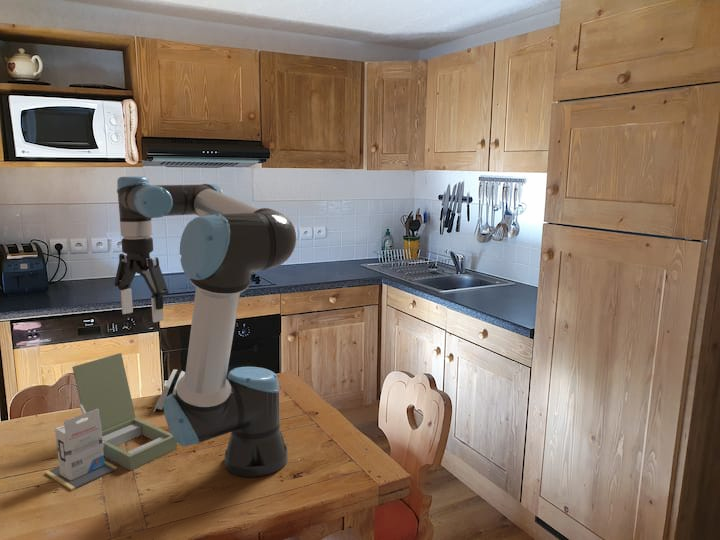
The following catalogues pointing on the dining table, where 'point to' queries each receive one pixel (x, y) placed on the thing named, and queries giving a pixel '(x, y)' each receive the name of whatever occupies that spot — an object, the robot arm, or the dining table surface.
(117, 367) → the case
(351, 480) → the dining table surface
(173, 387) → the white black curved block
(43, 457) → the dining table surface
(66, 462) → the ink box
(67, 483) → the mat
